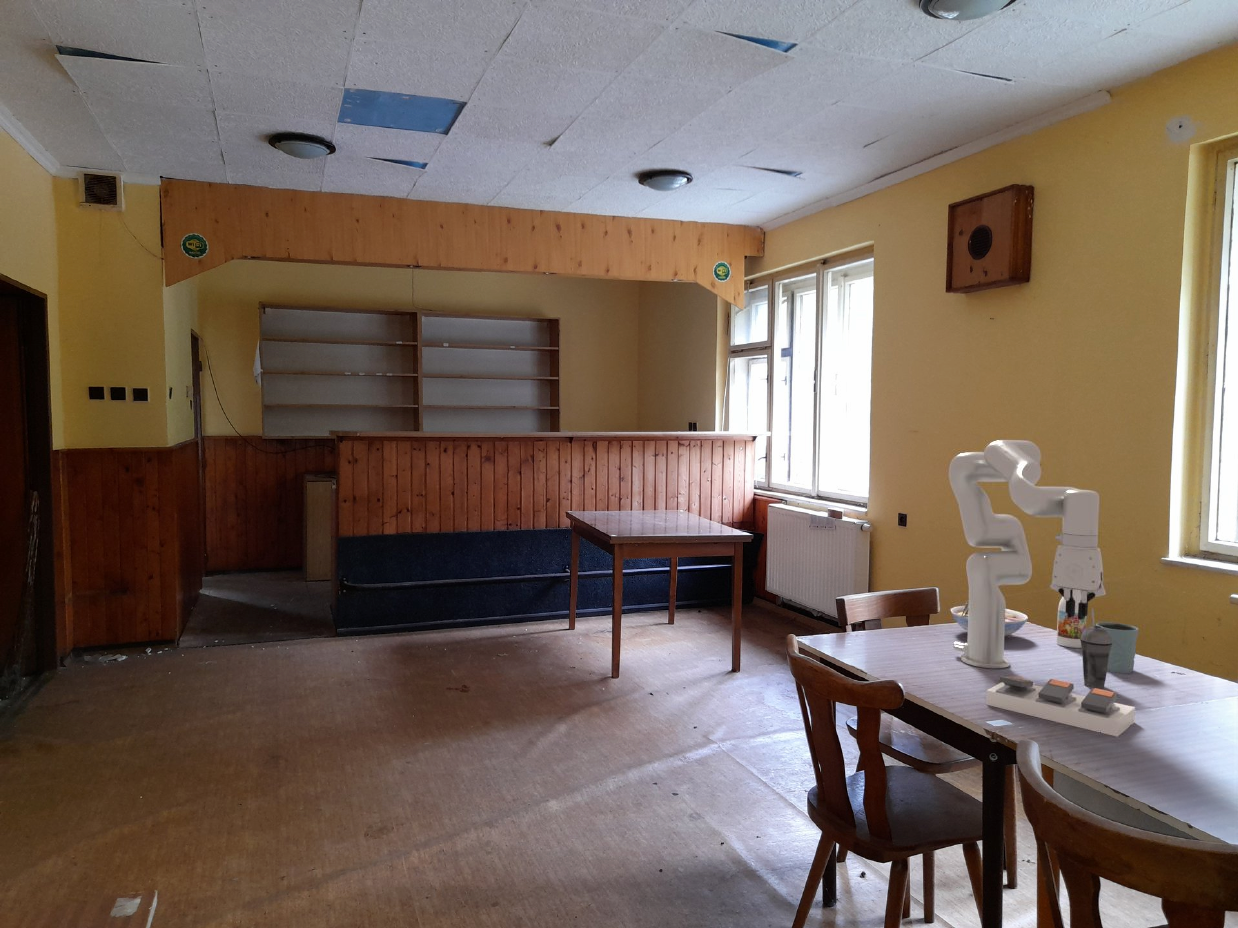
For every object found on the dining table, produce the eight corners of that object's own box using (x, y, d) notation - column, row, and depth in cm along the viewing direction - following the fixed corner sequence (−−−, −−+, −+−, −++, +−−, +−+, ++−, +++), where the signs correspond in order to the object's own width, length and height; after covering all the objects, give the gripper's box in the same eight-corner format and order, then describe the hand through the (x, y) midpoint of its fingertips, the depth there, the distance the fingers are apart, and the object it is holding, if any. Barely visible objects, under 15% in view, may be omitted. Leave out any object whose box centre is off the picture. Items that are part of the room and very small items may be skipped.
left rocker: (998, 684, 200) (999, 675, 200) (1010, 685, 206) (1011, 676, 206) (1020, 689, 197) (1021, 680, 197) (1032, 689, 202) (1033, 680, 202)
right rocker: (1081, 710, 188) (1081, 701, 187) (1092, 695, 193) (1092, 687, 193) (1106, 716, 184) (1106, 707, 184) (1117, 701, 190) (1117, 692, 189)
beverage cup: (1114, 691, 214) (1118, 613, 213) (1083, 688, 216) (1086, 611, 215) (1104, 682, 221) (1107, 607, 220) (1074, 680, 223) (1077, 605, 222)
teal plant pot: (1097, 671, 232) (1098, 627, 231) (1091, 661, 241) (1093, 620, 241) (1139, 675, 228) (1141, 631, 227) (1132, 665, 237) (1134, 623, 237)
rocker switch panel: (986, 704, 202) (986, 688, 202) (1007, 692, 211) (1007, 677, 211) (1117, 736, 182) (1118, 718, 182) (1134, 722, 191) (1135, 705, 191)
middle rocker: (1038, 700, 194) (1038, 692, 194) (1050, 686, 200) (1050, 678, 199) (1062, 706, 191) (1061, 697, 190) (1073, 691, 196) (1073, 683, 196)
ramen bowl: (1024, 649, 253) (1025, 622, 252) (943, 639, 264) (944, 613, 264) (1029, 632, 275) (1030, 607, 274) (955, 623, 286) (955, 599, 285)
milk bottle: (1051, 641, 263) (1053, 578, 262) (1074, 641, 263) (1077, 578, 262) (1066, 648, 255) (1069, 583, 254) (1090, 648, 256) (1093, 583, 255)
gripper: (1039, 539, 205) (1036, 614, 206) (1111, 546, 193) (1108, 626, 194) (1049, 536, 210) (1046, 609, 211) (1121, 543, 199) (1117, 621, 200)
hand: (1076, 617), depth 203 cm, fingers closed
